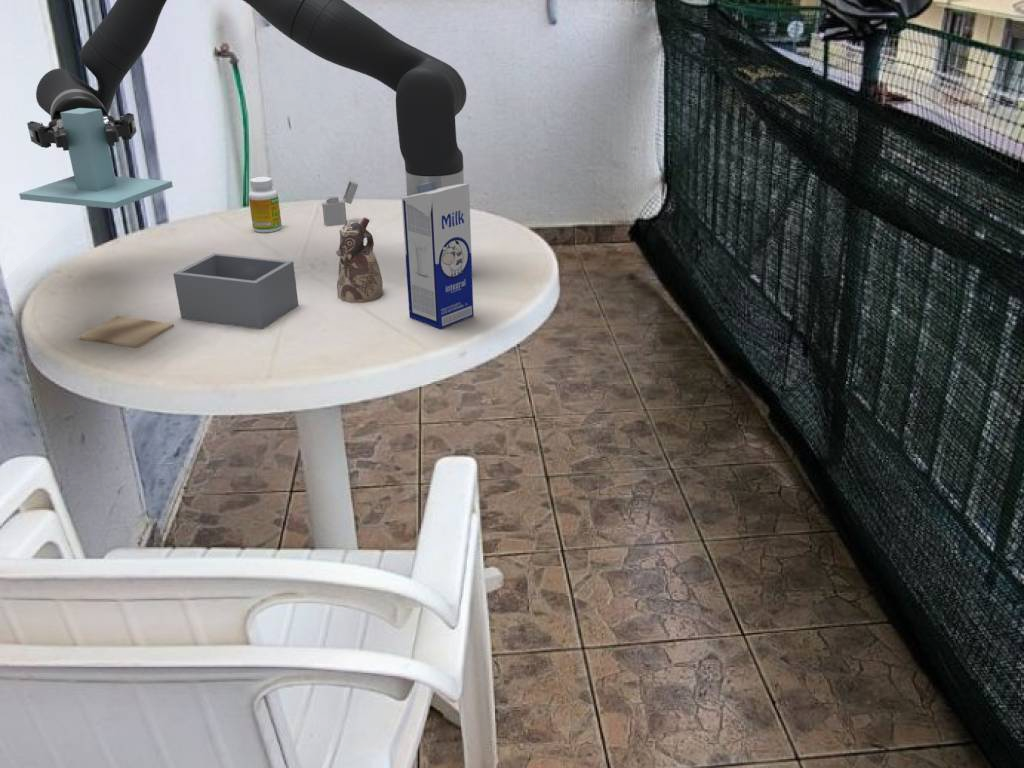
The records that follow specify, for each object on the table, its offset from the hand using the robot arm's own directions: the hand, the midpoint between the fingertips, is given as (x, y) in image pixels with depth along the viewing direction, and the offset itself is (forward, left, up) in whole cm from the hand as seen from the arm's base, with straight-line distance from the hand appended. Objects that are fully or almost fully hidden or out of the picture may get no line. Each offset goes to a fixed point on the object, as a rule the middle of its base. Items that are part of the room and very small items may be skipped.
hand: (87, 140), depth 121 cm
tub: (-9, -14, -28) cm, 32 cm away
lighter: (-1, -61, -28) cm, 67 cm away
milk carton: (-39, -21, -28) cm, 53 cm away
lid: (+2, -2, -7) cm, 8 cm away
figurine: (-23, -26, -28) cm, 45 cm away
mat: (+2, -2, -28) cm, 28 cm away
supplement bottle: (+11, -53, -28) cm, 61 cm away
